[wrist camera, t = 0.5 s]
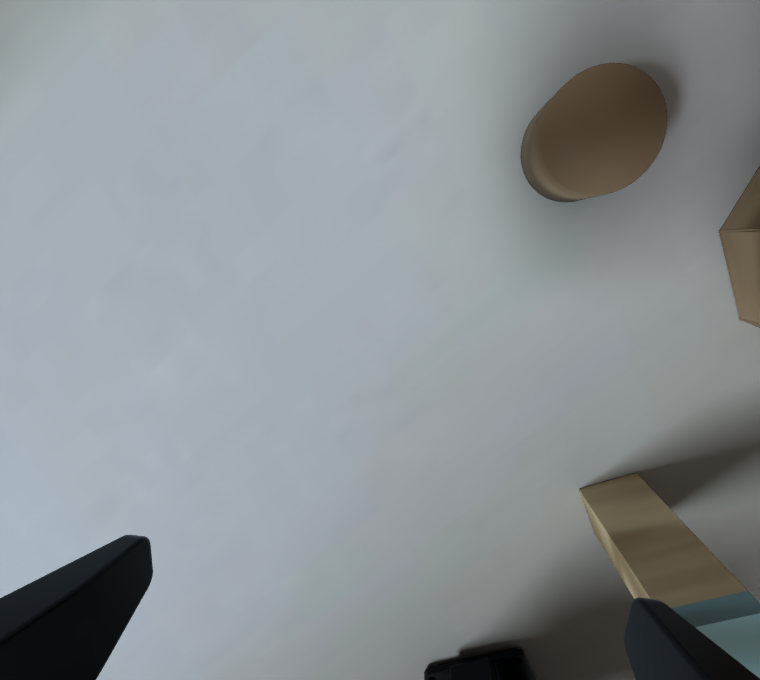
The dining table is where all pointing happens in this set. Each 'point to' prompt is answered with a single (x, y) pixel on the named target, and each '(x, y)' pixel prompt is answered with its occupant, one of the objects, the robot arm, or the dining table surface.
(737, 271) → the wooden octagonal ring
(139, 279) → the dining table surface
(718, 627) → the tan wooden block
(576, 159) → the loose bead
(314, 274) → the dining table surface
